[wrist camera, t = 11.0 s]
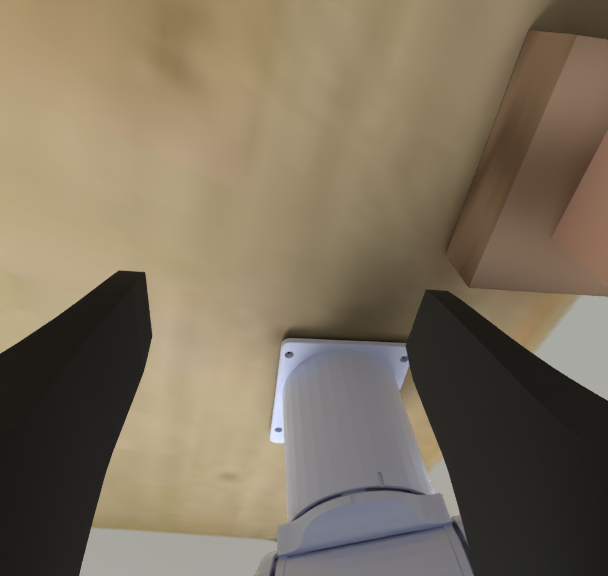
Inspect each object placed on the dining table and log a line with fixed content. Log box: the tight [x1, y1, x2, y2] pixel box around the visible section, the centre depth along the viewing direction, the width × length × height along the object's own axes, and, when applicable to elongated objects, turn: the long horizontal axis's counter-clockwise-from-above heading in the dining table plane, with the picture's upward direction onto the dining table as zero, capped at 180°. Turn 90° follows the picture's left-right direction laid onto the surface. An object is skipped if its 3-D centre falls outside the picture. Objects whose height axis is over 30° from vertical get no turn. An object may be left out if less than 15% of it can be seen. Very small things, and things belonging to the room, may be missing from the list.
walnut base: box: [446, 30, 608, 297], centre depth 18 cm, size 10×10×3 cm
